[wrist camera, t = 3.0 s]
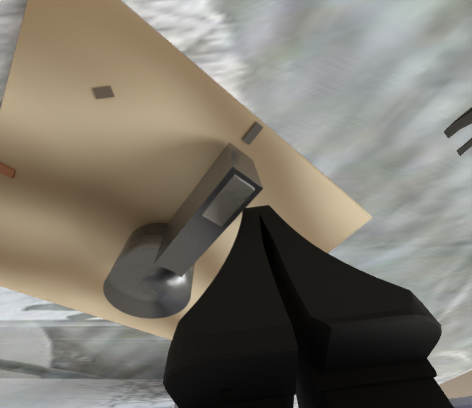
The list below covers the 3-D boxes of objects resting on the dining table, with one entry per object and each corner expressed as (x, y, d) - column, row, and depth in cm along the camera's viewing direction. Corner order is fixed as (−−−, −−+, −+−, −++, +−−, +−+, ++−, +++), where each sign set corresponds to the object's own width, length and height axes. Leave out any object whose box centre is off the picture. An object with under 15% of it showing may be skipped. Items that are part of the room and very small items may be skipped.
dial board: (205, 333, 21) (204, 351, 20) (-18, 255, 15) (-43, 274, 13) (359, 204, 15) (373, 218, 13) (71, -43, 8) (41, -65, 7)
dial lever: (175, 281, 15) (164, 328, 12) (115, 256, 13) (88, 303, 10) (272, 174, 11) (289, 207, 8) (205, 124, 10) (199, 144, 7)
